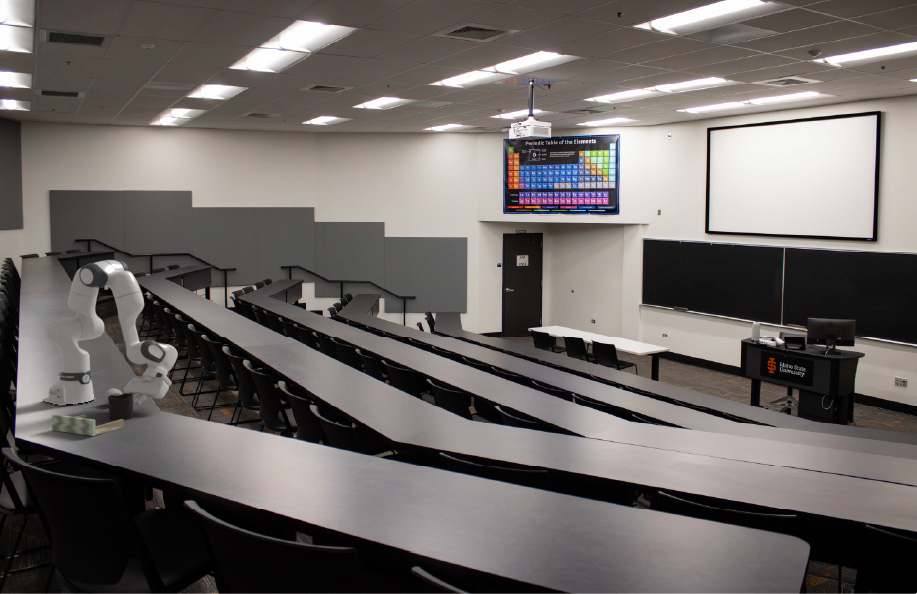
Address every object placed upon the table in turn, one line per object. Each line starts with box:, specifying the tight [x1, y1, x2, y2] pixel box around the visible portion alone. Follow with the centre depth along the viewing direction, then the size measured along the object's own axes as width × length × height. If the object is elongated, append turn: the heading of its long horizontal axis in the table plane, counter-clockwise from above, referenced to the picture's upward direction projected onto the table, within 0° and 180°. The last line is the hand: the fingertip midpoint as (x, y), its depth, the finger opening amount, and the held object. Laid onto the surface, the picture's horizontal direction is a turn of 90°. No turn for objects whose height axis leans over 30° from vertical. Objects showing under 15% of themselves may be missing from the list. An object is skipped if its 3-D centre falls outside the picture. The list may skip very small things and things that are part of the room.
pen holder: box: [108, 392, 134, 422], centre depth 288 cm, size 9×9×10 cm
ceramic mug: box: [103, 387, 123, 406], centre depth 312 cm, size 11×8×8 cm
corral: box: [51, 413, 125, 437], centre depth 273 cm, size 21×15×6 cm
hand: (136, 403), depth 296 cm, fingers closed
